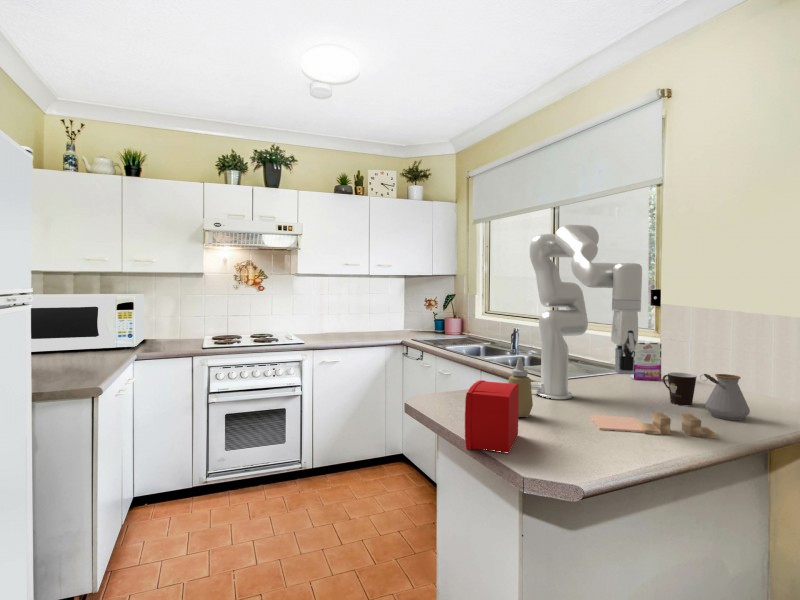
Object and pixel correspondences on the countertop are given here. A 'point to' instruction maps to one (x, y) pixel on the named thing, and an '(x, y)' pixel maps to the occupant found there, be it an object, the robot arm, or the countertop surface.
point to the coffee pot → (726, 398)
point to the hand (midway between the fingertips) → (624, 368)
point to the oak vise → (688, 425)
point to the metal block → (618, 362)
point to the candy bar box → (647, 361)
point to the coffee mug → (681, 387)
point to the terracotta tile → (617, 423)
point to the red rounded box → (491, 416)
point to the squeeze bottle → (522, 388)
